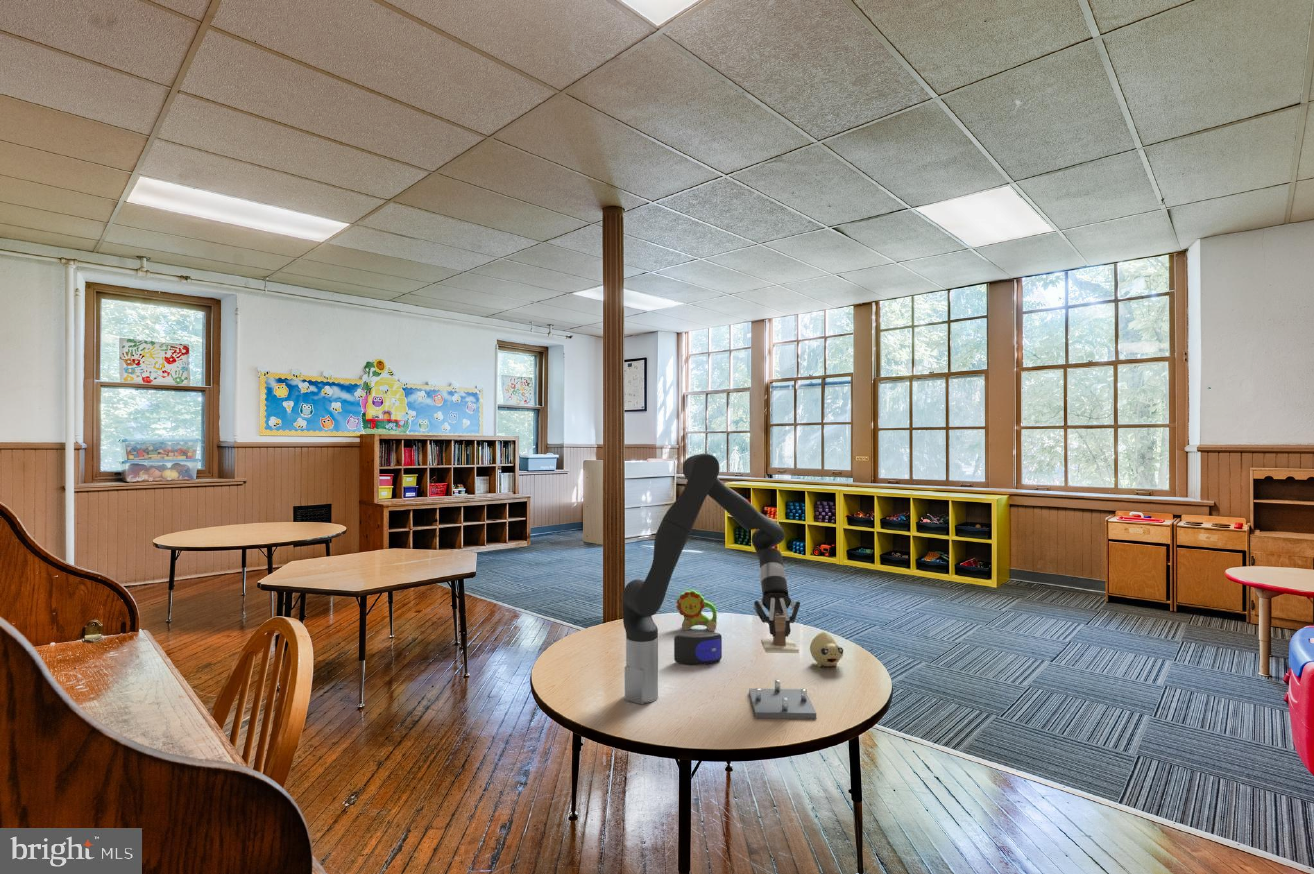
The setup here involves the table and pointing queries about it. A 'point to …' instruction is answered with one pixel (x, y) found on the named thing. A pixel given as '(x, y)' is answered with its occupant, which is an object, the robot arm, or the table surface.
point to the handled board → (779, 648)
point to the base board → (773, 704)
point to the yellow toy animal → (825, 650)
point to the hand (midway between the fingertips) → (780, 635)
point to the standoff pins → (784, 700)
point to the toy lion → (695, 610)
